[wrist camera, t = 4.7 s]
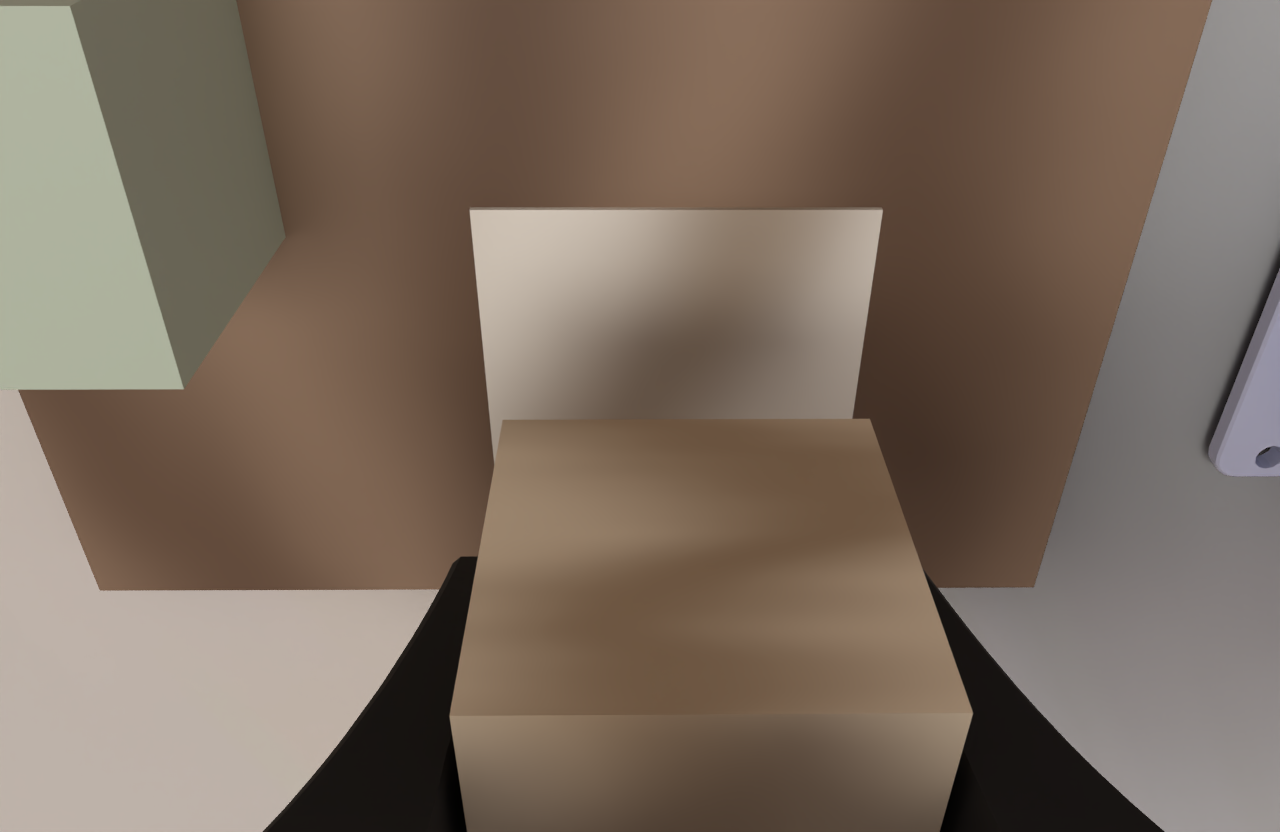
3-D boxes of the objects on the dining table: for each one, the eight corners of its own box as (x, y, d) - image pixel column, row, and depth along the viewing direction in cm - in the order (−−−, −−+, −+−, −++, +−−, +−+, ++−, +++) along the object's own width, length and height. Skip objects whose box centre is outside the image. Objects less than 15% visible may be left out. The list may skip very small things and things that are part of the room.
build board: (1438, -923, 10) (1516, -984, 9) (1018, 553, 22) (1035, 590, 21) (-452, -941, 10) (-557, -1005, 9) (120, 556, 21) (97, 593, 21)
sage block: (221, -71, 14) (69, 6, 10) (285, 236, 16) (183, 389, 13) (-114, -73, 14) (-391, 4, 10) (3, 237, 16) (-183, 390, 13)
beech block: (869, 419, 12) (972, 713, 9) (829, 670, 15) (896, 983, 11) (502, 419, 12) (449, 714, 9) (524, 672, 15) (490, 985, 11)
